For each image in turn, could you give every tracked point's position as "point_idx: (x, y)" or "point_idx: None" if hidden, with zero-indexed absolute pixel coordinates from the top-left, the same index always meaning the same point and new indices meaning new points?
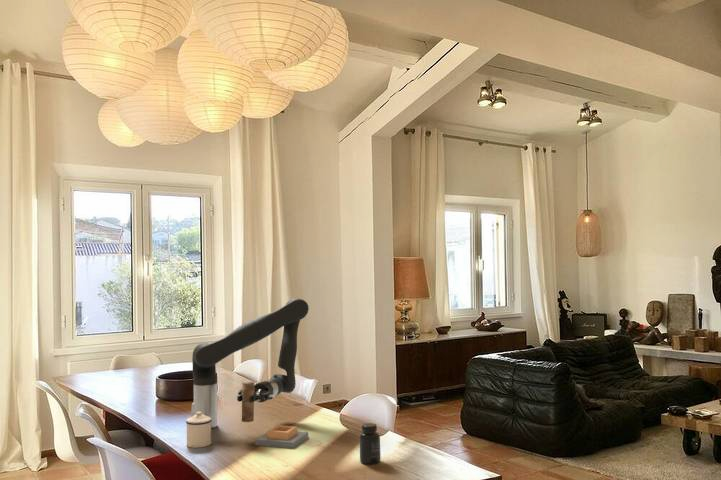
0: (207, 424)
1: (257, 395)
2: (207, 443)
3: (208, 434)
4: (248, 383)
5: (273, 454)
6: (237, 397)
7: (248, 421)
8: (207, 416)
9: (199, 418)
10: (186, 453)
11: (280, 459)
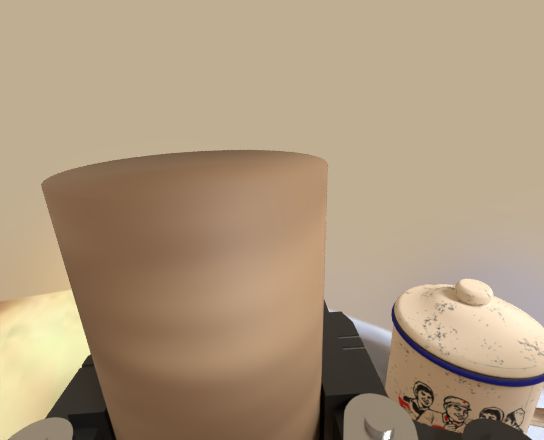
0: (395, 329)
1: (37, 434)
2: None
3: (391, 376)
4: (173, 156)
5: (43, 403)
6: (339, 323)
7: None
8: (474, 348)
9: (429, 291)
10: (369, 328)
11: (23, 365)
